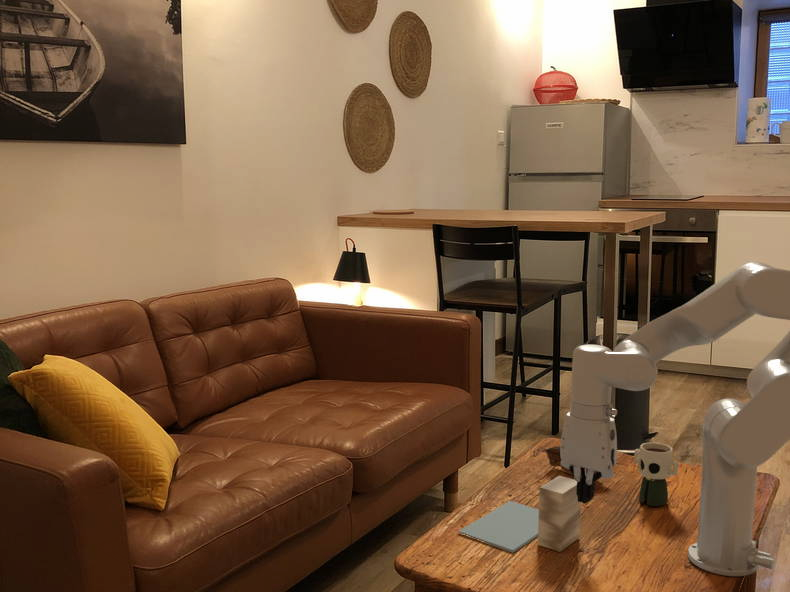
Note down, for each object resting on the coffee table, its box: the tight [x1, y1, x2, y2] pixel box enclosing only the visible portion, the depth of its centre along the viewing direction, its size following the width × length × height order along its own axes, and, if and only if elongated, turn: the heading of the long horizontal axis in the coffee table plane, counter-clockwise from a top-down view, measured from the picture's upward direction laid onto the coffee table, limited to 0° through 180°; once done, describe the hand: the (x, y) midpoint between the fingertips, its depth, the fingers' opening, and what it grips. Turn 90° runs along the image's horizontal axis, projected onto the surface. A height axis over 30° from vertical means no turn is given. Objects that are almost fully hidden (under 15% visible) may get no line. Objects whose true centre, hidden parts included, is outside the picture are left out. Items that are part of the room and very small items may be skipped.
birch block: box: [537, 475, 582, 553], centre depth 163 cm, size 5×8×12 cm, turn 141°
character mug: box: [633, 442, 679, 507], centre depth 182 cm, size 11×7×13 cm, turn 38°
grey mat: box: [457, 500, 539, 554], centre depth 171 cm, size 13×20×1 cm, turn 141°
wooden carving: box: [545, 445, 588, 477], centre depth 199 cm, size 16×5×10 cm, turn 53°
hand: (584, 500), depth 159 cm, fingers closed
